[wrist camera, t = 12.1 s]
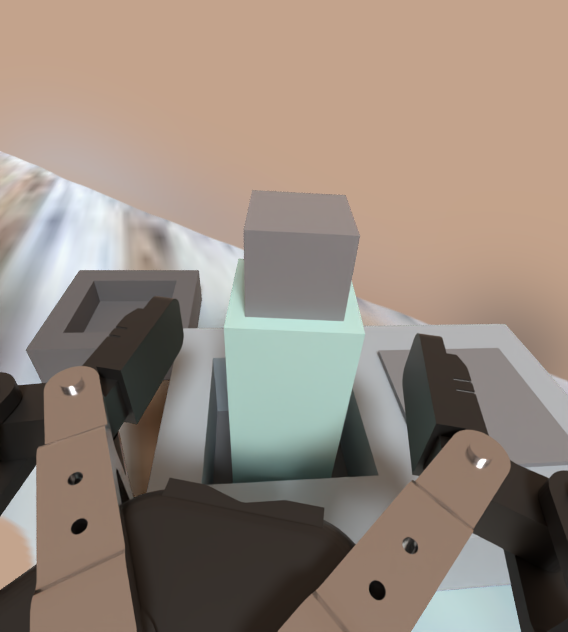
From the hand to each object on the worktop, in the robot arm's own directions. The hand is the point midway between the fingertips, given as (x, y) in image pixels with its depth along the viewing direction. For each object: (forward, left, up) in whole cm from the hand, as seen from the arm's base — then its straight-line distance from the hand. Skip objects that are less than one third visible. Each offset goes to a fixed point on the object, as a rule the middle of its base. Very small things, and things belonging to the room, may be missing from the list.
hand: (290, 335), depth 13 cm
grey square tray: (-10, +13, -11) cm, 20 cm away
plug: (0, +1, -10) cm, 10 cm away
